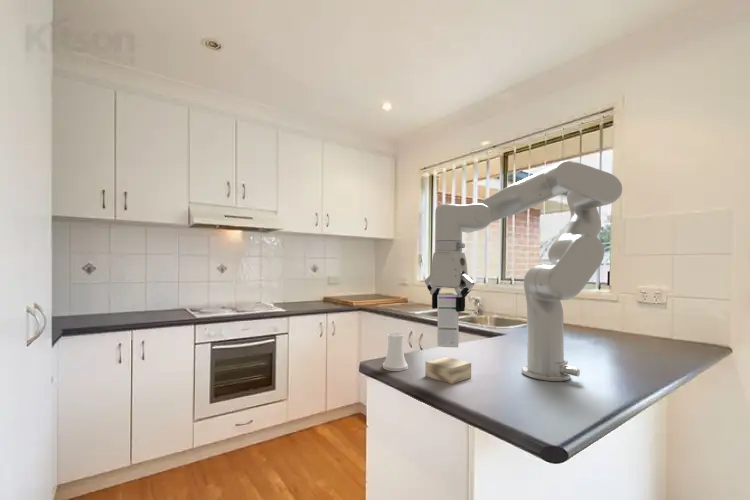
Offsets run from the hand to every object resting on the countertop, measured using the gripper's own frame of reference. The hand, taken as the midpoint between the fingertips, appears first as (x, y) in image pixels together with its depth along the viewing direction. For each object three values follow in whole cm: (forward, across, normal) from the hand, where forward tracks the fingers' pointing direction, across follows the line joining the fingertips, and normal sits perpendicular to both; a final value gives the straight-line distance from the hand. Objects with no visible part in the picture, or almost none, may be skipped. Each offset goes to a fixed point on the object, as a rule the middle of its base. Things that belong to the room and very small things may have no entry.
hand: (447, 309), depth 102 cm
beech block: (+19, 0, 0) cm, 19 cm away
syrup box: (+10, 0, 0) cm, 10 cm away
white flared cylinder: (+19, +16, +5) cm, 25 cm away
